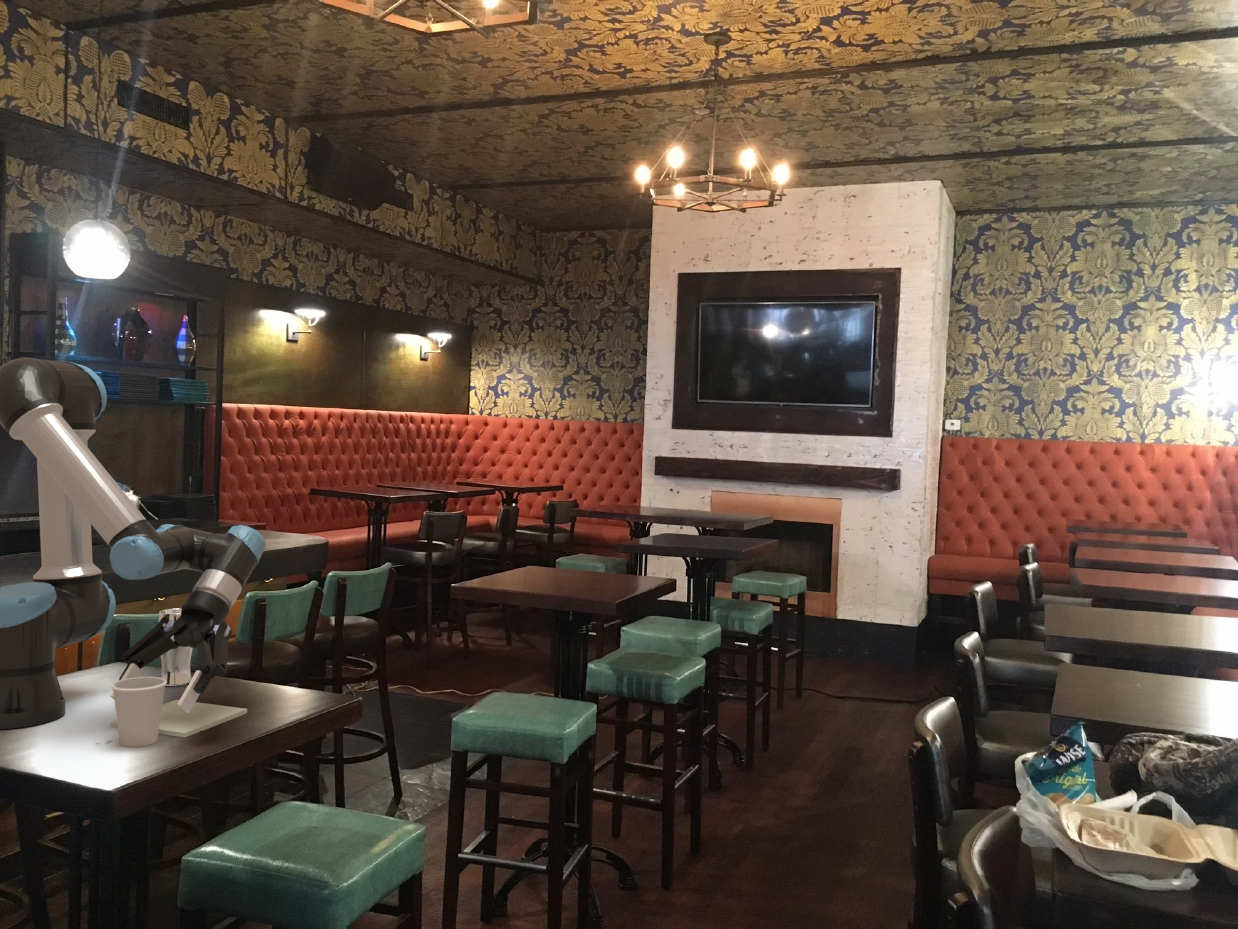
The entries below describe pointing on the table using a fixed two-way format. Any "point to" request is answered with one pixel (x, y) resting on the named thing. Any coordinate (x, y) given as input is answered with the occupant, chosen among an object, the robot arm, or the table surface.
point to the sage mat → (192, 718)
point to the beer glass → (175, 656)
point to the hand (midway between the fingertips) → (149, 705)
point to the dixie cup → (138, 709)
